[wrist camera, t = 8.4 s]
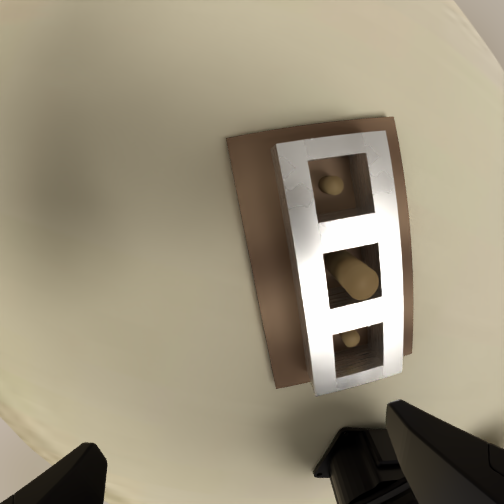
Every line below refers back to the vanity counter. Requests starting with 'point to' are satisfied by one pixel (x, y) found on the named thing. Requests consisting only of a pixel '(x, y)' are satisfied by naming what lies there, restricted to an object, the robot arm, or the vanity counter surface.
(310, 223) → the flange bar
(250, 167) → the post stand
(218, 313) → the vanity counter surface
